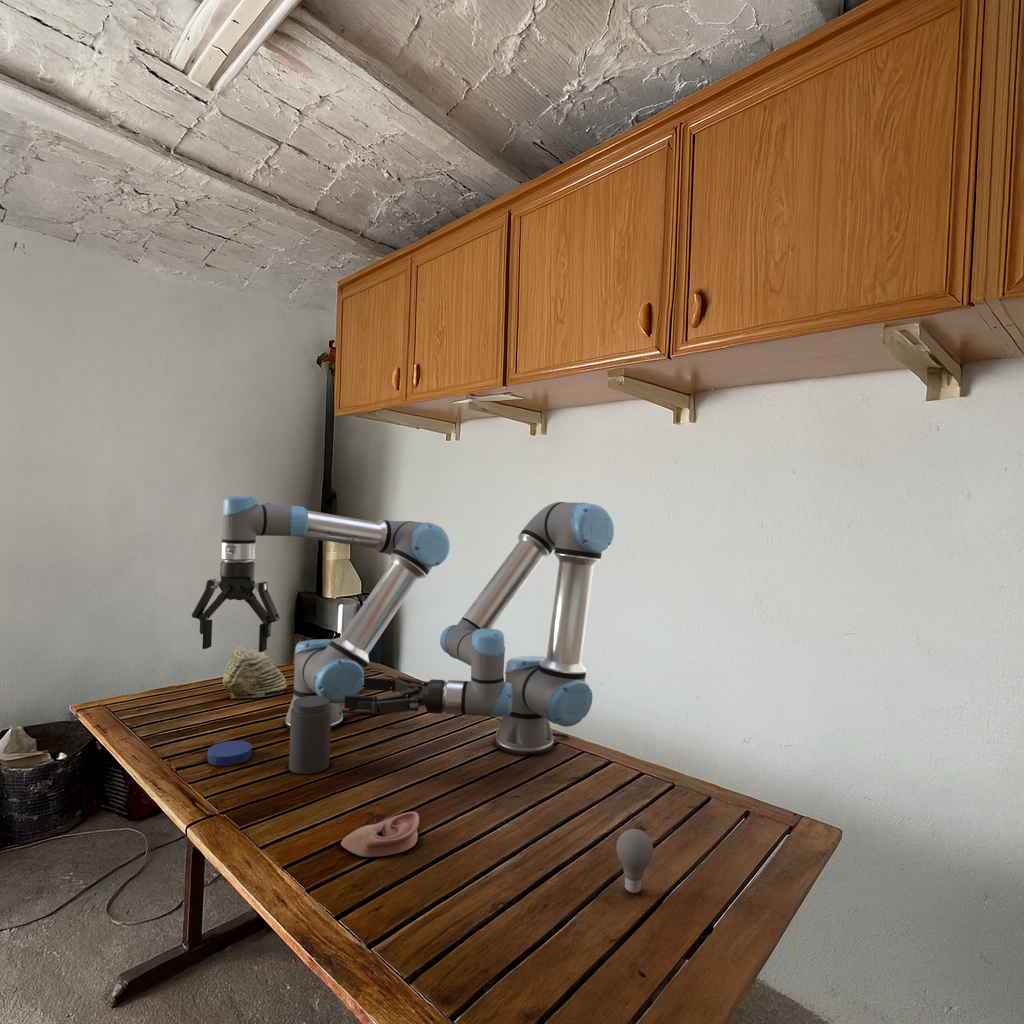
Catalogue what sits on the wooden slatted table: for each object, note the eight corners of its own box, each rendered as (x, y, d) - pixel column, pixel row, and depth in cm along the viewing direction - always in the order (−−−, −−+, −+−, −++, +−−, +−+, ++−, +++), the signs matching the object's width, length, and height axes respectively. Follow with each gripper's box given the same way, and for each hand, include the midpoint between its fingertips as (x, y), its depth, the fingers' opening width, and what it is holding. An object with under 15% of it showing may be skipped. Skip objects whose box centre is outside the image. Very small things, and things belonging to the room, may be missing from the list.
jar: (295, 757, 153) (297, 694, 153) (332, 758, 153) (335, 695, 153) (283, 773, 144) (286, 706, 144) (324, 774, 144) (326, 707, 144)
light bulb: (610, 879, 108) (613, 822, 108) (644, 879, 109) (647, 822, 109) (619, 902, 102) (622, 840, 102) (655, 901, 103) (658, 840, 103)
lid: (209, 751, 154) (209, 742, 154) (252, 747, 158) (252, 738, 158) (205, 767, 145) (205, 758, 145) (251, 763, 149) (251, 754, 149)
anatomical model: (333, 830, 113) (361, 800, 124) (332, 852, 113) (360, 820, 124) (403, 841, 110) (425, 810, 122) (402, 863, 110) (424, 830, 122)
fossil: (218, 695, 195) (220, 647, 195) (278, 685, 208) (279, 640, 207) (228, 703, 189) (230, 653, 188) (289, 692, 201) (290, 645, 201)
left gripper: (177, 559, 147) (174, 650, 148) (283, 564, 146) (279, 655, 147) (195, 556, 155) (192, 642, 155) (295, 561, 154) (292, 648, 154)
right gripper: (433, 733, 133) (335, 728, 135) (454, 695, 158) (371, 691, 160) (434, 698, 133) (336, 693, 135) (454, 665, 158) (371, 662, 160)
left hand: (234, 649), depth 151 cm, fingers open, 13 cm apart
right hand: (355, 692), depth 147 cm, fingers open, 13 cm apart
